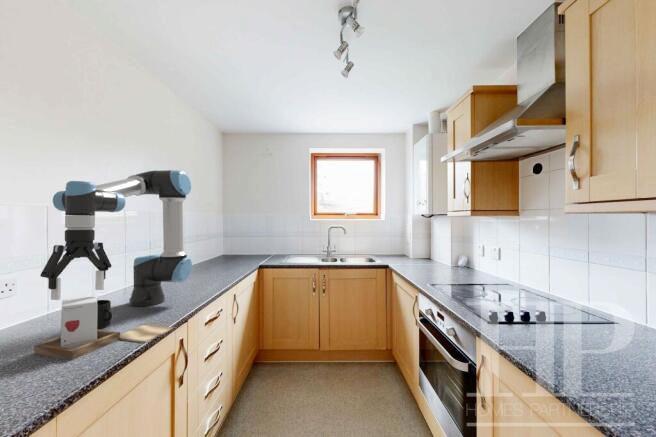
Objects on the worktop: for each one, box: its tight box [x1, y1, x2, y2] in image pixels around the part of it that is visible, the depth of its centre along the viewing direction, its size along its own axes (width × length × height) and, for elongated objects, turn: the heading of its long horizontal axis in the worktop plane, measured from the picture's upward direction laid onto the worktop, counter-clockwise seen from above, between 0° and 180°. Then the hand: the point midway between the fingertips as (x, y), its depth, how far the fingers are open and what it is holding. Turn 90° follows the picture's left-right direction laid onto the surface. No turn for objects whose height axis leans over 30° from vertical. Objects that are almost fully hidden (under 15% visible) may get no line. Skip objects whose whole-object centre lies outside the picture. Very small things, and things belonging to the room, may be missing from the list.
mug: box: [97, 299, 113, 330], centre depth 115 cm, size 9×12×9 cm
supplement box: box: [60, 295, 98, 349], centre depth 98 cm, size 9×9×15 cm
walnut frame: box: [33, 329, 121, 361], centre depth 98 cm, size 15×15×2 cm
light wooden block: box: [118, 323, 175, 344], centre depth 109 cm, size 13×13×1 cm
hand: (79, 294), depth 98 cm, fingers open, 13 cm apart
